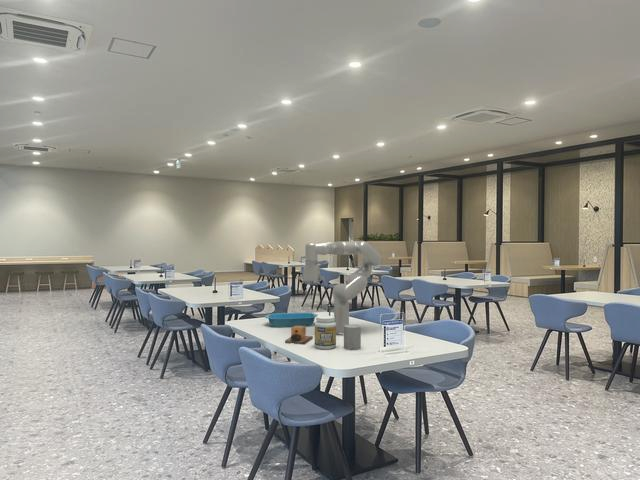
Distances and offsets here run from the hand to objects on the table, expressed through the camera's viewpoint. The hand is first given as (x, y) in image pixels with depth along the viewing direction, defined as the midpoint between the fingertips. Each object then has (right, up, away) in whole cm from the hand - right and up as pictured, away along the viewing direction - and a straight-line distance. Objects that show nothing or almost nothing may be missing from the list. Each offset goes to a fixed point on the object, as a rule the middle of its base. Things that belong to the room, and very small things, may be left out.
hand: (311, 290), depth 295 cm
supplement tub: (+8, -29, -29) cm, 42 cm away
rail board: (-7, -28, -13) cm, 32 cm away
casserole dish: (-15, -29, +38) cm, 50 cm away
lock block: (-7, -27, -15) cm, 32 cm away
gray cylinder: (+23, -29, -31) cm, 48 cm away
